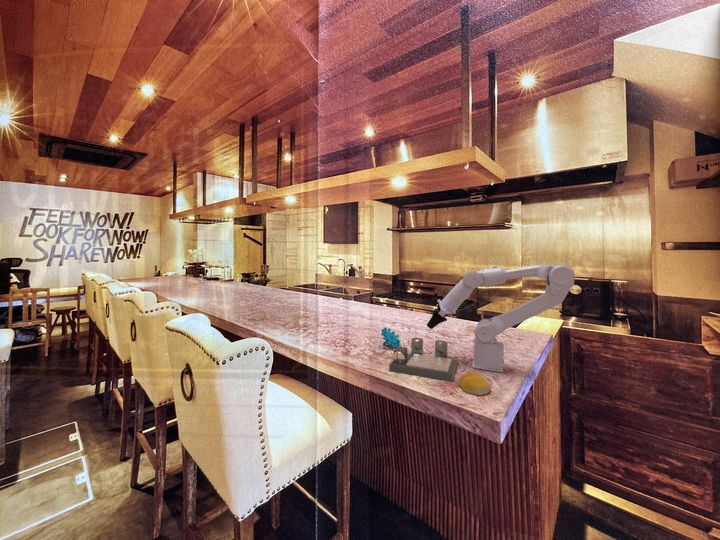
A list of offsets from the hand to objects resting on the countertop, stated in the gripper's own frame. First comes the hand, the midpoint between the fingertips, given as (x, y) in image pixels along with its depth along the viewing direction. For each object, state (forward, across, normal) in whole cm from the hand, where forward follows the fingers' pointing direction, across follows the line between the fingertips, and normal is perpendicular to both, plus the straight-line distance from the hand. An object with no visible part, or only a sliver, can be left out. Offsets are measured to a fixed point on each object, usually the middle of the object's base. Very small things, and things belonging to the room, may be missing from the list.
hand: (430, 324), depth 108 cm
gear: (+21, -6, -5) cm, 22 cm away
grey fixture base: (+9, +13, +7) cm, 18 cm away
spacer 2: (+7, 0, +11) cm, 13 cm away
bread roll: (-1, +21, +20) cm, 29 cm away
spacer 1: (+13, 0, +4) cm, 13 cm away
